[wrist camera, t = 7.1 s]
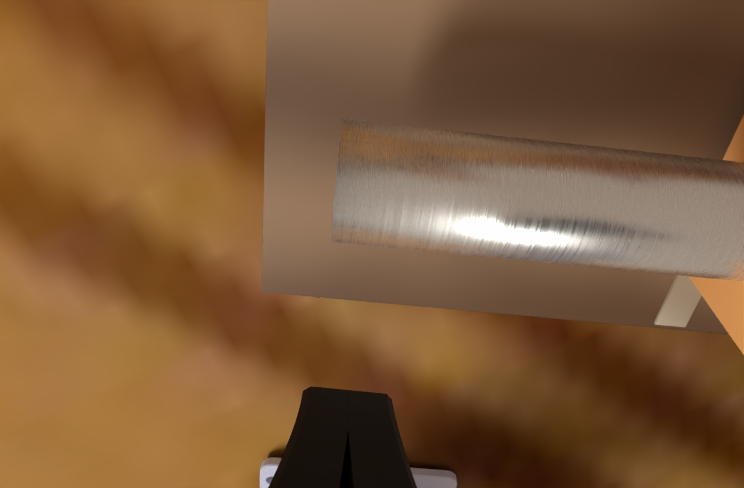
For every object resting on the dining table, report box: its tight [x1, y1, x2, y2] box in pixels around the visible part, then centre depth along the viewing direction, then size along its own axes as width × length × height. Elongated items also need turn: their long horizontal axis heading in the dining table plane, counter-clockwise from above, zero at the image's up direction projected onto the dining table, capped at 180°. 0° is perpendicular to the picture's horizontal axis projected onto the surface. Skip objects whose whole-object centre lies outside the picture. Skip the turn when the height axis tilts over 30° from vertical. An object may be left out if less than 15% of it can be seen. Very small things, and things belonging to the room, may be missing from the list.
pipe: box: [330, 119, 744, 282], centre depth 14 cm, size 3×18×3 cm, turn 84°
